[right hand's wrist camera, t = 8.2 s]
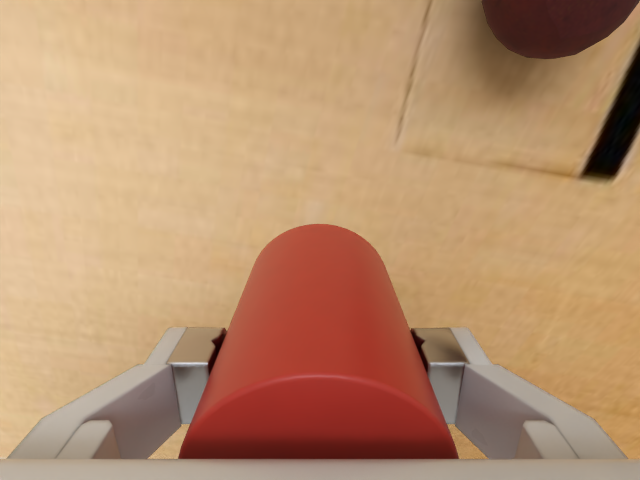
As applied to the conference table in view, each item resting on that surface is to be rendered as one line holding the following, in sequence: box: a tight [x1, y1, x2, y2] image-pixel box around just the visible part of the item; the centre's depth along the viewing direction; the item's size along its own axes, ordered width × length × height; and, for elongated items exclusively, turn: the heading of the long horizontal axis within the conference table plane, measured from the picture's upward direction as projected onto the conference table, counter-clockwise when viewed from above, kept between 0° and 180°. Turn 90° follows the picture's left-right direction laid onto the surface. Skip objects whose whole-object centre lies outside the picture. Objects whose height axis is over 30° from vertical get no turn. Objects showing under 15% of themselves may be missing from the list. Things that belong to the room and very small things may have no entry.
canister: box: [178, 224, 459, 459], centre depth 10 cm, size 5×5×8 cm
